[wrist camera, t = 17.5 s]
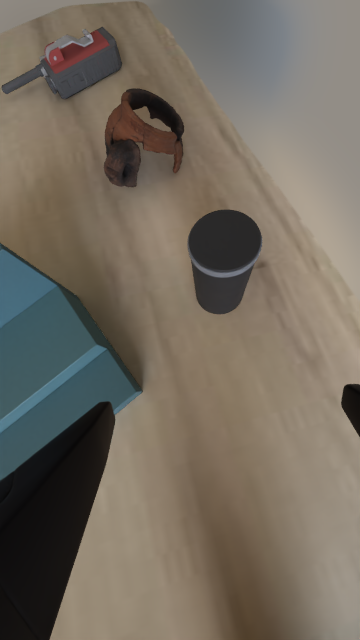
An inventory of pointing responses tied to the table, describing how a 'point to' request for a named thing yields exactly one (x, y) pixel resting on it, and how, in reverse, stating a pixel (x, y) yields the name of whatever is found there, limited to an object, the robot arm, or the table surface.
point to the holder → (223, 258)
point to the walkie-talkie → (73, 63)
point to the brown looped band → (139, 136)
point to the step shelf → (49, 362)
